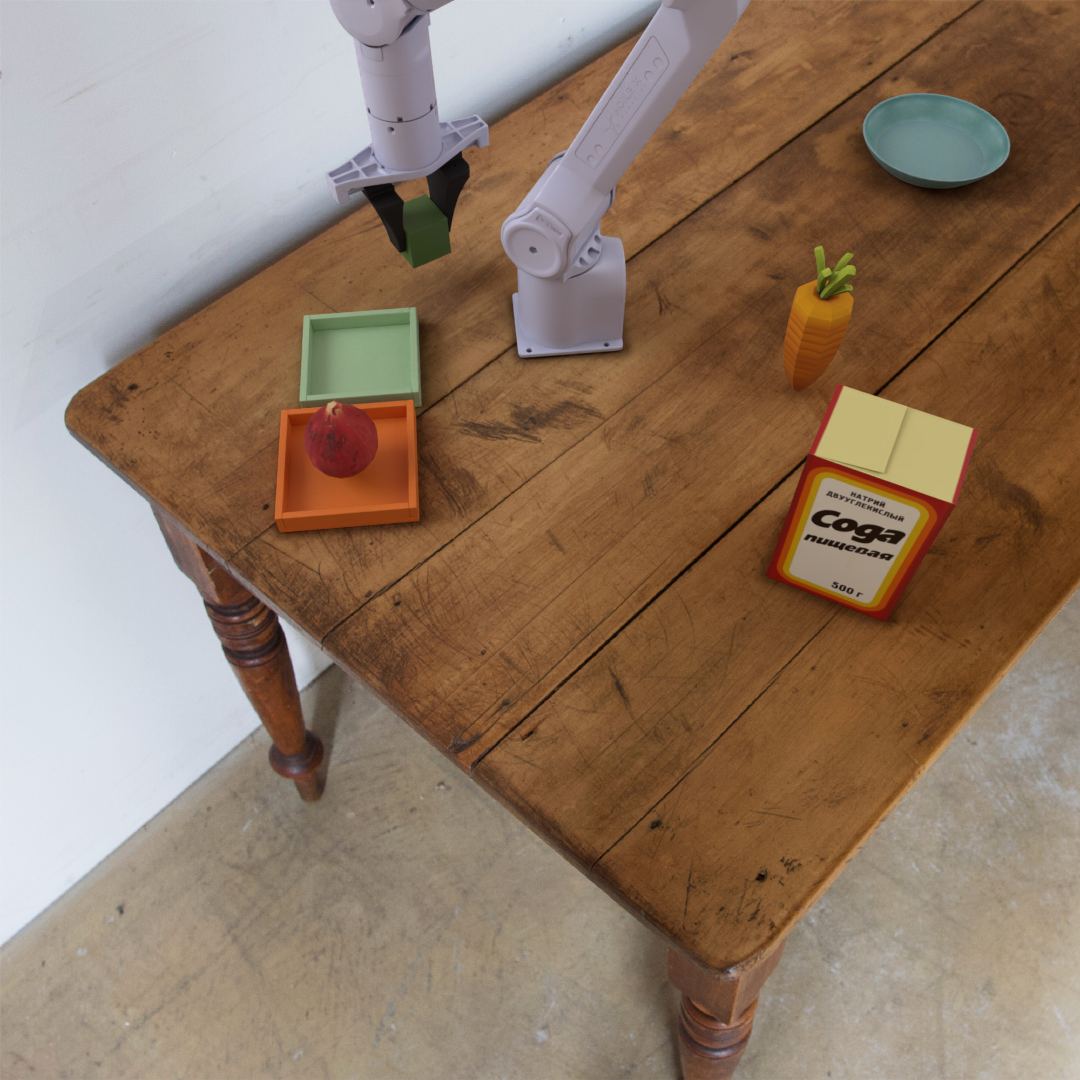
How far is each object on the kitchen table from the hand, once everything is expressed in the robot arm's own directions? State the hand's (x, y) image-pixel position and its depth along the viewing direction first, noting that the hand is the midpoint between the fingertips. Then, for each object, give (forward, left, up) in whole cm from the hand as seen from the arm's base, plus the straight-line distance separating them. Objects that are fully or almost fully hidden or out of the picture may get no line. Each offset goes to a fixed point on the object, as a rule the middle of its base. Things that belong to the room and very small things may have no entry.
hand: (420, 236), depth 91 cm
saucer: (-53, -13, -5) cm, 55 cm away
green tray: (+6, +11, -5) cm, 13 cm away
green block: (0, 0, -1) cm, 1 cm away
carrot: (-32, +17, -5) cm, 37 cm away
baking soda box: (-31, +35, -5) cm, 47 cm away
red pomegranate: (+7, +22, -5) cm, 24 cm away
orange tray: (+7, +22, -5) cm, 24 cm away
